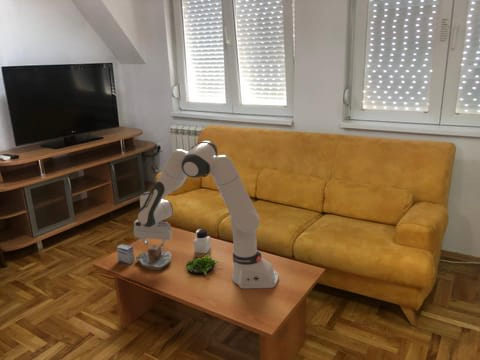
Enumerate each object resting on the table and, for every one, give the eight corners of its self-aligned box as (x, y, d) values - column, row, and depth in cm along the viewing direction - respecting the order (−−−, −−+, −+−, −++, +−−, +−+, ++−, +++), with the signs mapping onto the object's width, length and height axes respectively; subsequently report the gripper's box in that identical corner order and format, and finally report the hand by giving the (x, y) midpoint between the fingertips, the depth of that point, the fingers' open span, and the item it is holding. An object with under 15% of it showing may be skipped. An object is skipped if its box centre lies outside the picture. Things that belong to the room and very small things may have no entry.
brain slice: (180, 259, 222) (180, 254, 221) (158, 274, 209) (157, 269, 208) (153, 251, 232) (153, 246, 231) (131, 265, 219) (130, 260, 218)
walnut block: (161, 255, 221) (160, 245, 219) (157, 260, 217) (156, 249, 215) (152, 254, 222) (151, 244, 220) (149, 259, 218) (147, 249, 216)
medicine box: (118, 261, 222) (115, 247, 219) (123, 257, 226) (121, 243, 223) (129, 264, 218) (127, 250, 216) (135, 260, 222) (133, 246, 219)
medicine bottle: (210, 247, 233) (209, 228, 229) (206, 253, 226) (205, 233, 222) (199, 246, 235) (197, 227, 231) (194, 252, 228) (192, 232, 224)
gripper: (172, 219, 214) (175, 243, 218) (136, 217, 218) (139, 241, 223) (167, 224, 208) (170, 249, 212) (130, 222, 213) (134, 246, 217)
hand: (154, 245), depth 217 cm, fingers open, 8 cm apart
